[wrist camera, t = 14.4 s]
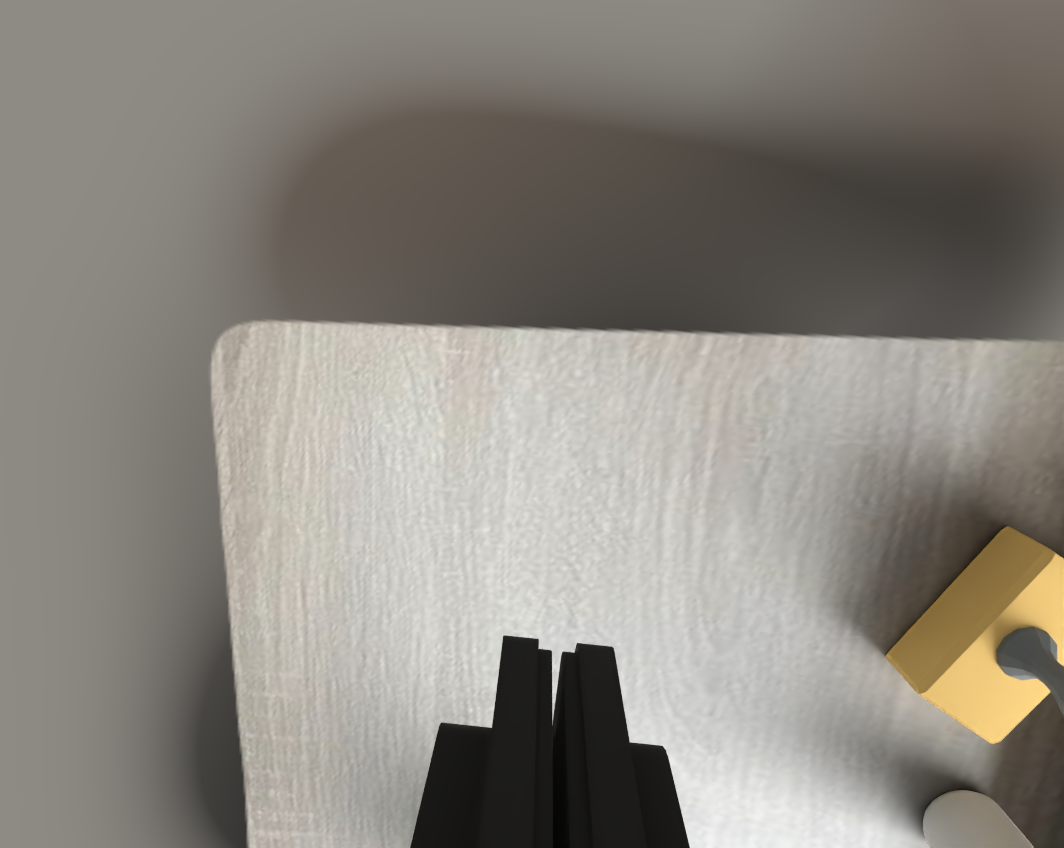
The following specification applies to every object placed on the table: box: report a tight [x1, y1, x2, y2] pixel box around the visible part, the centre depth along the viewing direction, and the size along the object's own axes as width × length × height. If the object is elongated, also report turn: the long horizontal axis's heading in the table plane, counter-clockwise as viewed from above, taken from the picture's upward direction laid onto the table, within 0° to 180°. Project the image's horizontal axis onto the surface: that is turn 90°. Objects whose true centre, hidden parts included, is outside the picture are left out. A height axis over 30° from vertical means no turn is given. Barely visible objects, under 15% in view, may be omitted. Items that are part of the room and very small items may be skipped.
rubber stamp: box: [885, 526, 1064, 744], centre depth 31 cm, size 10×6×12 cm, turn 146°
